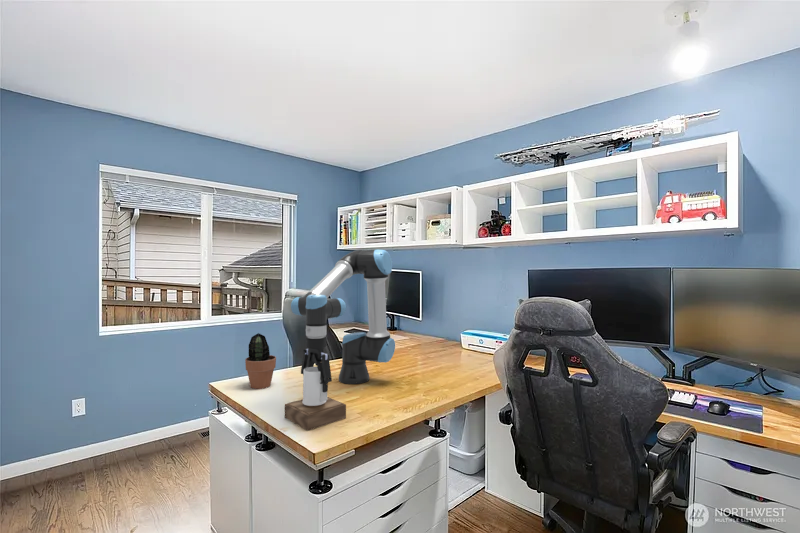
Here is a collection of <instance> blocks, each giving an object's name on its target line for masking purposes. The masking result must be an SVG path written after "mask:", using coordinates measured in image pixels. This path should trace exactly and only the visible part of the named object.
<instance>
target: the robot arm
mask: <svg viewBox="0 0 800 533" xmlns="http://www.w3.org/2000/svg"><path fill="white" fill-rule="evenodd" d="M392 269H393V260H392V257H391V255H390V253H389V252H388V250H385V249H357V250H354V251H351V252H348V253H347V254H345V255H343V257H341V258H340V259H338V261H337V262H336V263H335V264H334V267H333V268H332V269H331V270H330V271H329V272H328V273H327V274H325V276H324V277H323V278H322V279H321V280H320V281H318V282H317V283H316V284H315V285H314V286H313V287H312V288H311V289H310V290H309V291H308V292H307V293H306V294H305V295H303V296H299V297H298V296H297V297H295V298H293V299H292V301H291V302H290V310H291V312H292V313H293V315H295V316H301V317H305V336H306V337H305V349H303V351H302V353H303V354H302V356H303V357H302V362H301V367H300V374H301V375H303V370H304V369H305V368H308V367H317V368H318V371H320V372H321V374H320V379H321V382H320V402H322V401H326V400H327V397H328V391H329V389H328V388H329V383H331V382H332V380H333V379H332V370H331V365H330V363H331V362H330V354H329V353H325V350H324V349H325V348H327V337H326V336H327V333H328V332H327V319H328V320H329V319H333V318H339V317H342V316H343V315H344V314H345V313H346V311H347V304H346V302H345V301H344V300H343V299H342V298H339V297H334V298H329V297H330V296H331V295H332V294H333V293H334V292H335V291H337V289H338V287H340V286H341V285H342V284H343V282H345V280H347V279H351V277H352V276H353V275H363V279H364V280H365V281H366V287H367V291H366V292H367V312H368V314H367V315H368V331H367V333H366V332H363V331H362V332H352V333H348V334H347V333H346V334H345V335H344V336H343V337H342V343H341V344H342V346H341V347H342V351H341V352H342V361H341V362H342V363H341V364H342V365H341V368H340V371H339V374H338V381H339V383H342V384H346V385H347V384H348V385H359V384H364V383H365V384H366V383H367V382H368V381H369V380H370V373H369V370H368V367H367V363H366V362H367V361H368V362H375V363H379V364H380V363H389V362H390V361H391V360H392V358H393V356H394V355H395V354H394V353H395V351H396V341H395V339H394V338H392V337H391V333H390V331H388V328H387V327H388V326H387V322H388V321H387V304H386V303H387V302H386V301H387V300H386V298H387V297H386V280H388V279H389V275H390V274H391V273H392V272H393V270H392Z"/></svg>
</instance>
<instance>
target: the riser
mask: <svg viewBox="0 0 800 533" xmlns="http://www.w3.org/2000/svg"><path fill="white" fill-rule="evenodd" d="M302 401H303V398H302V399H298V400H294V401H292V402H287V403H284V419H287V420H288V421H290V422H291V423H294V424H295V425H297V426H299V427H301V428H303V429H304V430H306V431H311V430H314V429H317V428H320V427H324V426H326V425H330V424H333V423H334V422H338V421H342V420H345V419H346V418H347V404H346V403H343V402H341V401H338V400H336V399H334V398H332V397H328V396H327V400H326V402H325V403H324V404H322V405H318V406H307V405H304V404H303V403H302Z"/></svg>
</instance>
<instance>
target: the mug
mask: <svg viewBox="0 0 800 533" xmlns="http://www.w3.org/2000/svg"><path fill="white" fill-rule="evenodd" d="M320 374H321V372H320V371H318V368H317V366H313V367H308V368H305V369H304V370H303V374H302V376H303V380H302V381H303V383H302V384H303V385H302V387H303V388H302V391H303V392H302V399H303V401H302V403H303V404H304V405H307V406H318V405H322V404H324V403H325V402H326V401H322V402H320V382H321V379H320Z"/></svg>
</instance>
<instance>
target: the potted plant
mask: <svg viewBox="0 0 800 533" xmlns="http://www.w3.org/2000/svg"><path fill="white" fill-rule="evenodd" d="M244 360H245V362H244V363H245V371H247V372H246V373H247V375H248V382H249V386H250V388H251V389H253V388H254V389H255V390H260V389H261V390H262V388H263V389H267V388H269V387H270V386H271V385H272V379H273V375H274V370H275V369H276V365H277V364H276V363H277V356H276V355H271V352H270V346H269V344H268V342H267V338H266V336H265V335H263V334H261V333H259V332H258V333H257V334H254V335H252V336H251V337H250V340H249V343H248V357H246V358H245V359H244ZM266 387H267V388H266Z"/></svg>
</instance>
